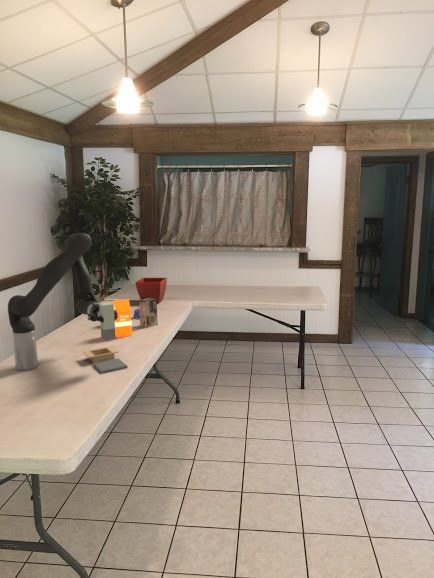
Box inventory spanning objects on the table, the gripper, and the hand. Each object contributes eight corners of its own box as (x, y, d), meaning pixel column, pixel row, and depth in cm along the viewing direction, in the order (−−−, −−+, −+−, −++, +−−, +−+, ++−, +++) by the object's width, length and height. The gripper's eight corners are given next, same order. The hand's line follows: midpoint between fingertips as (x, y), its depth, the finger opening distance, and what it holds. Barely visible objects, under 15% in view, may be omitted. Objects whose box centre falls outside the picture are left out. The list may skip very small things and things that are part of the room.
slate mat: (101, 373, 200) (101, 371, 200) (93, 365, 210) (93, 363, 210) (127, 367, 207) (127, 365, 206) (118, 360, 217) (118, 358, 216)
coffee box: (150, 323, 283) (149, 297, 280) (158, 324, 279) (157, 298, 276) (139, 326, 276) (138, 300, 273) (146, 327, 272) (145, 301, 269)
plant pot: (135, 304, 336) (134, 281, 333) (144, 298, 354) (143, 277, 351) (161, 304, 333) (160, 282, 330) (168, 299, 351) (167, 277, 348)
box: (104, 340, 203) (102, 305, 200) (101, 338, 207) (99, 303, 204) (115, 338, 205) (113, 304, 202) (112, 336, 210) (109, 302, 207)
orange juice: (114, 333, 261) (111, 299, 257) (129, 332, 264) (127, 298, 260) (116, 337, 254) (114, 302, 250) (132, 335, 257) (130, 300, 253)
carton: (89, 364, 212) (88, 357, 211) (83, 358, 220) (82, 351, 219) (119, 358, 219) (119, 351, 218) (112, 353, 227) (112, 346, 227)
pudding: (129, 315, 303) (129, 308, 302) (148, 314, 306) (147, 307, 305) (130, 320, 292) (129, 312, 291) (149, 319, 294) (149, 311, 293)
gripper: (81, 306, 212) (92, 313, 198) (111, 302, 219) (124, 308, 205) (82, 321, 213) (93, 330, 199) (112, 317, 221) (125, 325, 207)
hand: (109, 319), depth 202 cm, fingers closed on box, 5 cm apart
